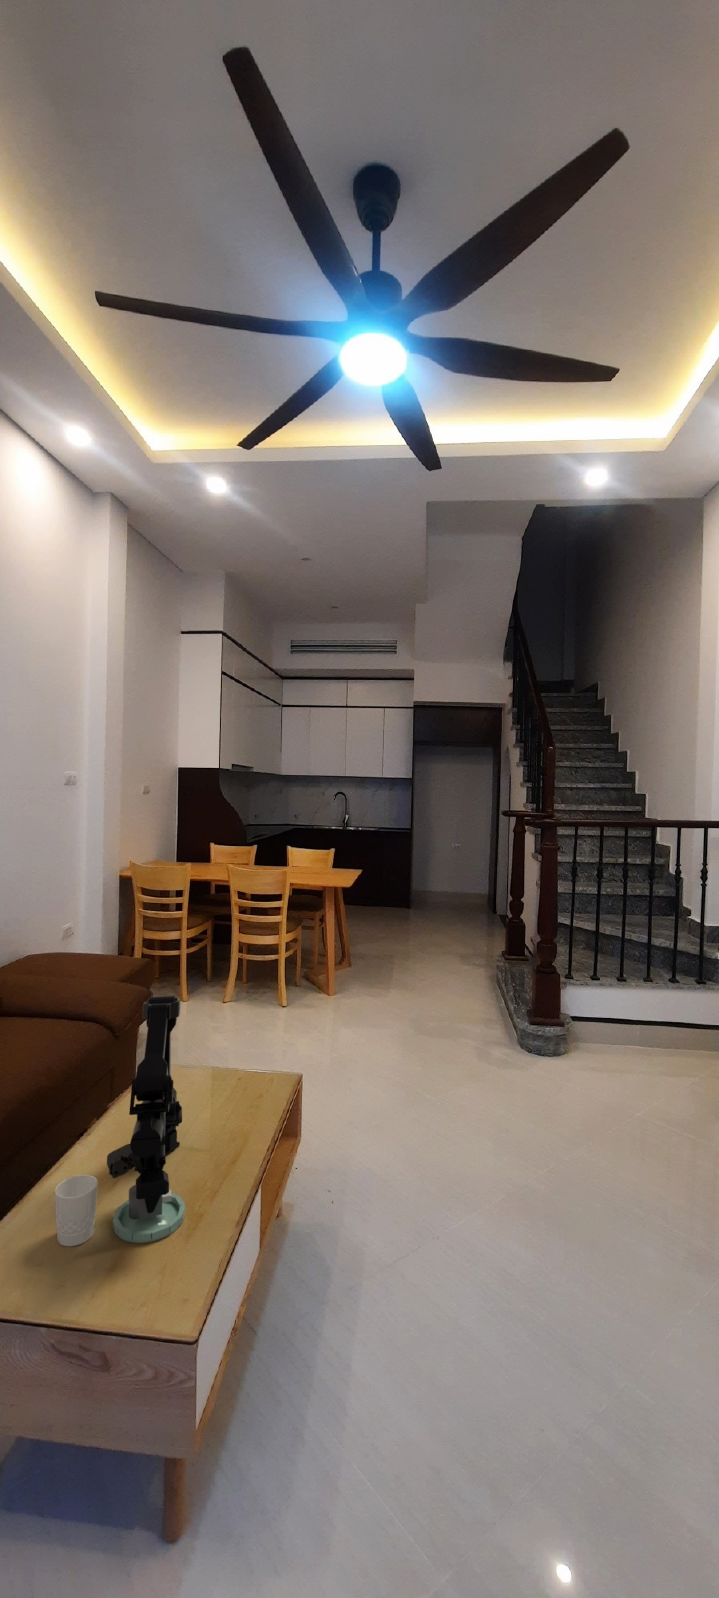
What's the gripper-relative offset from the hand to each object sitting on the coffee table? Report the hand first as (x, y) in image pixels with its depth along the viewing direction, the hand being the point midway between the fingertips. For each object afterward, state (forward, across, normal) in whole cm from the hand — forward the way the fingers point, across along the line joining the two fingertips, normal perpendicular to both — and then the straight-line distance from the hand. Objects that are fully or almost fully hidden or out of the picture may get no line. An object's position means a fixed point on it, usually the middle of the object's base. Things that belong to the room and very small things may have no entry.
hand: (149, 1206), depth 136 cm
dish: (+3, 0, 0) cm, 3 cm away
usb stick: (+1, 0, 0) cm, 1 cm away
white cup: (+3, 0, -14) cm, 15 cm away
